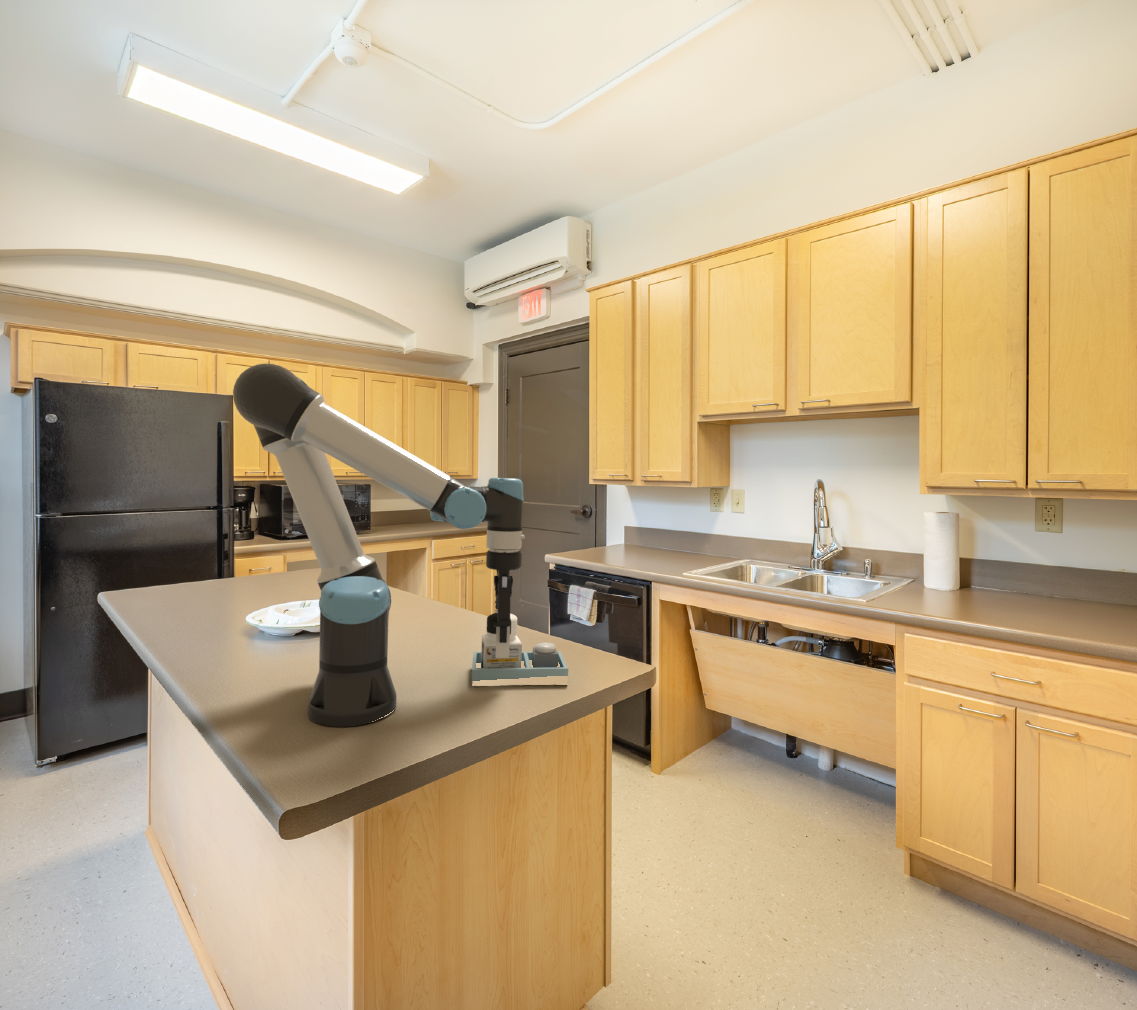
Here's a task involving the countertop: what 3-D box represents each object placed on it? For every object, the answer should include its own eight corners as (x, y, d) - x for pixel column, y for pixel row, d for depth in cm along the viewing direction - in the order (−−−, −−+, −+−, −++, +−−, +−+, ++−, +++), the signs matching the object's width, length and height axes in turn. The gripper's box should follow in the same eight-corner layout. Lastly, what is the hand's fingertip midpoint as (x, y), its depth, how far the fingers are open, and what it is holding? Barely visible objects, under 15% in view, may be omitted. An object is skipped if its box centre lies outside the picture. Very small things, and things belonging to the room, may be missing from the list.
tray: (471, 686, 122) (472, 654, 122) (472, 667, 134) (473, 638, 134) (567, 685, 125) (568, 653, 124) (560, 666, 137) (561, 637, 136)
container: (484, 680, 124) (486, 619, 123) (480, 668, 132) (482, 610, 131) (521, 679, 126) (523, 618, 125) (515, 667, 133) (517, 610, 133)
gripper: (525, 558, 116) (522, 665, 117) (518, 543, 140) (515, 632, 141) (486, 557, 115) (483, 666, 116) (486, 542, 139) (483, 632, 140)
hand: (501, 647), depth 128 cm, fingers open, 13 cm apart
